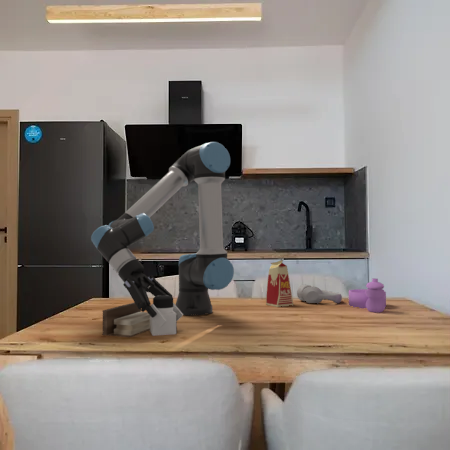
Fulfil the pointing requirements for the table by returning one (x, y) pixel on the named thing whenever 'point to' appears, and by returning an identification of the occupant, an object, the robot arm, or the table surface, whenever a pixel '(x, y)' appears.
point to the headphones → (316, 294)
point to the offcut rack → (117, 313)
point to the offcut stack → (132, 323)
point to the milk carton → (278, 286)
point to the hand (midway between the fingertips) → (172, 320)
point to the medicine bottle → (166, 309)
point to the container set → (369, 297)
